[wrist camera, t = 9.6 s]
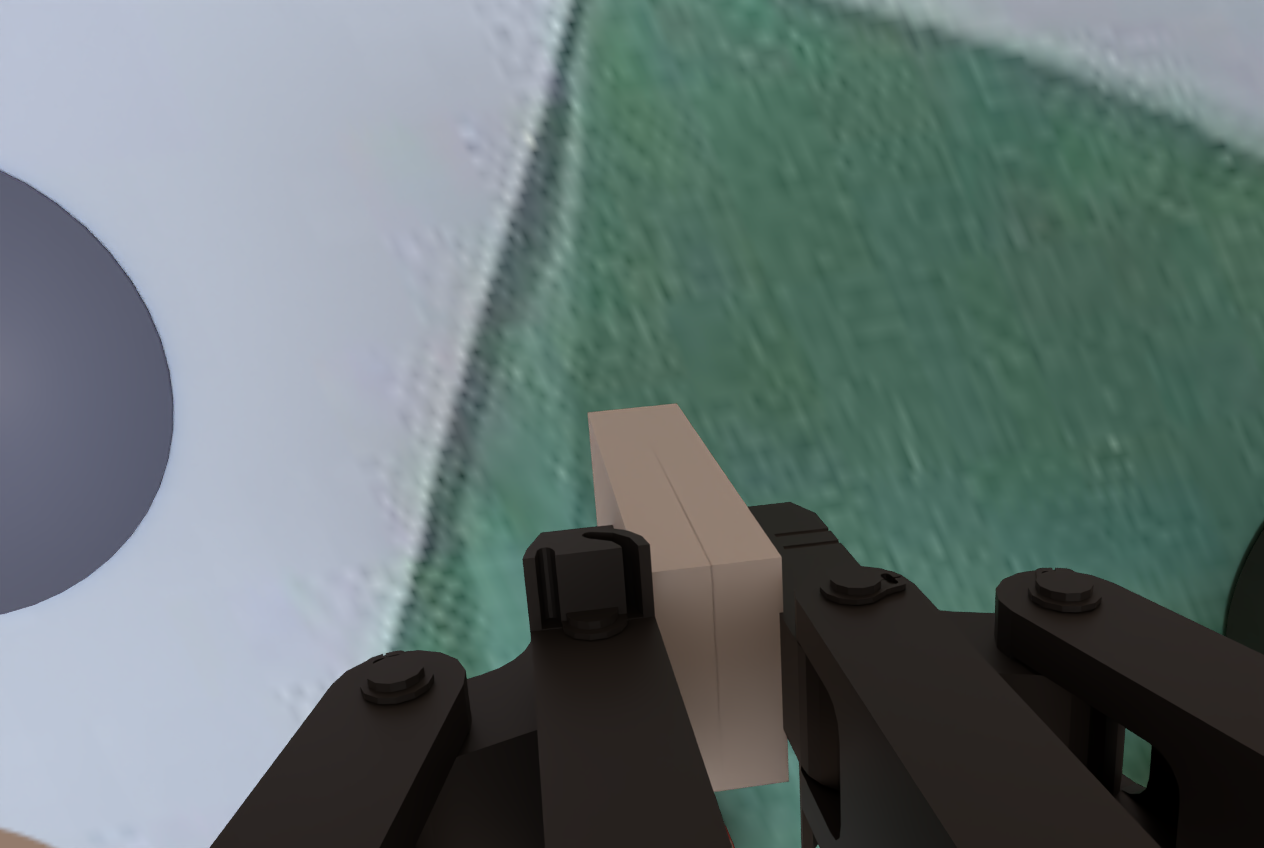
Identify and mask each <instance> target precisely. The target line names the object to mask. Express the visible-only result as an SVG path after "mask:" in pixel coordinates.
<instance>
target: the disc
mask: <svg viewBox="0 0 1264 848" xmlns="http://www.w3.org/2000/svg"><path fill="white" fill-rule="evenodd" d="M172 431H173V398H172V391H171V383H170V376H169V369H168V366H167V362H166V358H165V355H164V351H163V347H162V344H161V340H160V338H159V335H158V333H157V331H156V328H155V326H154V324H153V321H152V319H151V316H150V314H149V312H148V310H147V308H146V306H145V304H144V303H143V301H142V299H141V298H140V296H139V294H138V292H137V291H136V289H135V287H134V285H133V284H132V282H131V280H130V279H129V278H128V276H127V275H126V274H125V272H124V271H123V270H122V268H121V267H120V266H119V265H118V263H117V262H116V261H115V259H114V258H113V257H112V255H111V254H110V253H109V252H108V251H107V250H106V249H105V248H104V246H103V245H102V244H101V243H100V242H99V241H98V240H97V239H96V238H95V237H94V236H93V235H92V234H91V233H90V232H89V231H88V230H87V229H86V228H85V227H84V226H83V225H82V224H80V223H79V222H78V221H77V220H76V219H74V218H73V217H72V216H71V215H70V214H68V213H67V212H66V211H65V210H64V209H62V208H61V207H60V206H59V205H58V204H56V203H55V202H53V201H51V200H50V199H48V198H47V197H45V196H44V195H42V194H41V193H39V192H38V191H36V190H35V189H33V188H32V187H30V186H29V185H27V184H25V183H23V182H21V181H19V180H17V179H15V178H13V177H11V176H9V175H7V174H5V173H3V172H1V171H0V614H5V613H8V612H12V611H15V610H19V609H22V608H25V607H29V606H32V605H35V604H37V603H39V602H42V601H44V600H46V599H48V598H51V597H53V596H55V595H57V594H60V593H62V592H63V591H65V590H67V589H68V588H70V587H72V586H73V585H75V584H77V583H78V582H80V581H82V580H83V579H85V578H86V577H88V576H89V575H90V574H91V573H93V572H94V571H95V570H96V569H98V568H99V567H100V566H101V565H103V564H104V563H105V562H106V561H107V560H109V559H110V558H111V557H112V556H113V555H114V553H115V552H116V551H117V550H118V549H119V548H120V547H121V546H122V545H123V544H124V543H125V542H126V541H127V539H128V538H129V537H130V536H131V535H132V533H133V532H134V531H135V529H136V528H137V526H138V525H139V523H140V522H141V520H142V519H143V517H144V516H145V515H146V513H147V511H148V509H149V507H150V505H151V503H152V501H153V499H154V497H155V495H156V493H157V491H158V489H159V487H160V484H161V480H162V477H163V474H164V471H165V468H166V464H167V461H168V457H169V450H170V444H171V437H172Z"/></svg>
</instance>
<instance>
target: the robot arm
mask: <svg viewBox="0 0 1264 848" xmlns="http://www.w3.org/2000/svg"><path fill="white" fill-rule="evenodd" d="M588 422H589V433H590V445H591V457H592V468H593V480H594V492H595V503H596V515H597V526H596V527H587V528H579V529H570V530H561V531H552V532H543V533H541V534H540V535H539V536H538V537H537V538H536V539H535V540H534V542H533V543H532V544H531V545H530V546H529V547H528V548H527V550H526V552H525V555H524V557H523V567H524V576H525V586H526V595H527V604H528V613H529V622H530V632H531V642H530V644H529V645H528V647H527V648H526V650H525V651H524V652H523V653H522V654H520V655H519V656H518V657H517V658H516V659H514V660H513V661H511V662H509V663H508V664H506V665H504V666H502V667H500V668H498V669H496V670H493V671H490V672H488V673H485V674H482V675H479V676H476V677H473V678H470V679H467V678H466V670H465V669H464V668H463V666H462V665H461V664H460V662H459V661H458V660H457V659H455V658H453V657H450V656H448V655H446V654H443V653H441V652H431V651H421V650H416V651H407V652H404V651H394V652H389V653H386V655H384V656H383V654H381V655H378V656H375V657H372V658H370V659H369V660H367V661H366V662H364V663H362V664H360V665H358V666H356V667H354V668H352V669H350V670H348V671H346V672H345V673H344V674H343V675H342V676H341V677H340V678H339V679H337V680H336V681H335V682H334V683H333V684H332V685H331V686H330V688H329V689H328V690H327V692H326V693H325V694H324V696H323V697H322V698H321V700H320V701H319V702H318V704H317V705H316V706H315V708H314V709H313V710H312V712H311V713H310V714H309V716H308V717H307V718H306V720H305V721H304V722H303V724H302V725H301V726H300V728H299V729H298V730H297V732H296V733H295V734H294V736H293V737H292V738H291V740H290V741H289V742H288V744H287V745H286V746H285V748H284V749H283V750H282V752H281V753H280V754H279V756H278V757H277V758H276V760H275V761H274V762H273V764H272V765H271V766H270V768H269V769H268V771H267V772H266V773H265V775H264V776H263V777H262V779H261V780H260V781H259V783H258V784H257V785H256V787H255V788H254V789H253V791H252V792H251V793H250V795H249V796H248V797H247V799H246V800H245V801H244V803H243V804H242V805H241V807H240V808H239V809H238V811H237V812H236V813H235V815H234V816H233V817H232V819H231V820H230V821H229V823H228V824H227V825H226V827H225V828H224V829H223V831H222V832H221V833H220V835H219V836H218V837H217V839H216V840H215V841H214V843H213V844H212V845H211V847H210V848H732V845H731V842H730V839H729V836H728V833H727V830H726V827H725V824H724V821H723V818H722V815H721V812H720V809H719V806H718V803H717V800H716V797H715V794H714V792H717V791H724V790H731V789H738V788H745V787H752V786H759V785H766V784H773V783H781V782H788V781H789V773H788V742H787V738H788V740H789V742H790V744H791V746H792V748H793V750H794V752H795V754H796V756H797V759H798V761H799V775H800V810H801V845H802V848H816V846H817V845H819V847H820V848H1264V529H1263V531H1262V533H1261V534H1260V536H1259V538H1258V539H1257V541H1256V543H1255V544H1254V546H1253V548H1252V550H1251V552H1250V554H1249V556H1248V558H1247V560H1246V562H1245V565H1244V567H1243V569H1242V572H1241V574H1240V577H1239V579H1238V582H1237V585H1236V588H1235V591H1234V595H1233V598H1232V602H1231V606H1230V611H1229V615H1228V622H1227V629H1226V637H1225V636H1223V635H1221V634H1219V633H1217V632H1215V631H1213V630H1211V629H1209V628H1206V627H1204V626H1202V625H1200V624H1198V623H1196V622H1194V621H1192V620H1190V619H1188V618H1186V617H1183V616H1181V615H1179V614H1177V613H1175V612H1173V611H1171V610H1169V609H1167V608H1165V607H1163V606H1160V605H1158V604H1156V603H1154V602H1152V601H1150V600H1148V599H1146V598H1144V597H1142V596H1140V595H1137V594H1135V593H1133V592H1131V591H1129V590H1127V589H1125V588H1123V587H1121V586H1119V585H1117V584H1114V583H1112V582H1109V581H1106V580H1104V579H1101V578H1098V577H1095V576H1092V575H1088V574H1082V573H1077V572H1074V571H1073V570H1071V569H1065V568H1055V570H1053V569H1052V568H1039V569H1037V570H1036V571H1029V572H1022V573H1017V574H1015V575H1012V576H1010V577H1008V578H1005V579H1003V580H1002V581H1001V583H1000V584H999V585H998V587H997V588H996V597H995V613H975V612H952V611H940V610H938V609H937V608H936V607H935V606H934V604H933V603H932V602H931V601H930V600H929V599H928V598H927V597H926V596H925V595H924V594H923V593H922V592H921V591H920V589H919V588H918V587H917V586H916V585H915V584H914V583H912V582H911V581H909V580H908V579H906V578H905V577H903V576H902V575H900V574H897V573H895V572H892V571H887V570H884V569H880V568H872V567H864V566H860V565H859V563H858V562H857V561H856V560H855V559H854V558H853V556H852V555H851V554H850V553H849V552H848V551H847V549H846V548H845V547H844V546H843V545H842V544H841V543H839V542H838V539H837V538H836V537H835V535H834V534H833V533H832V532H831V531H828V527H827V526H826V525H825V524H824V523H823V521H822V520H821V519H820V518H819V517H818V516H817V514H816V513H814V512H812V511H809V510H807V509H805V508H803V507H800V506H798V505H796V504H794V503H791V502H785V503H776V504H767V505H758V506H750V507H747V506H746V504H745V503H744V501H743V500H742V498H741V497H740V495H739V494H738V493H737V491H736V490H735V488H734V487H733V485H732V484H731V482H730V481H729V479H728V478H727V476H726V475H725V473H724V472H723V471H722V469H721V468H720V466H719V465H718V463H717V462H716V460H715V459H714V457H713V456H712V454H711V453H710V451H709V450H708V449H707V447H706V446H705V444H704V443H703V441H702V440H701V438H700V437H699V435H698V434H697V432H696V431H695V429H694V428H693V427H692V425H691V424H690V422H689V421H688V419H687V418H686V416H685V415H684V413H683V412H682V410H681V409H680V408H679V406H678V405H677V404H667V405H657V406H647V407H637V408H627V409H617V410H608V411H598V412H588ZM1125 728H1127V729H1128V730H1130V731H1131V732H1133V733H1135V734H1136V735H1138V736H1139V737H1141V738H1142V739H1144V740H1146V741H1147V742H1149V743H1150V744H1151V745H1152V751H1151V763H1150V776H1149V781H1148V784H1147V787H1146V788H1145V787H1143V786H1141V785H1139V784H1136V783H1135V782H1133V781H1132V780H1130V779H1129V778H1128V777H1126V776H1125V775H1123V774H1122V767H1123V753H1124V739H1125Z"/></svg>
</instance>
